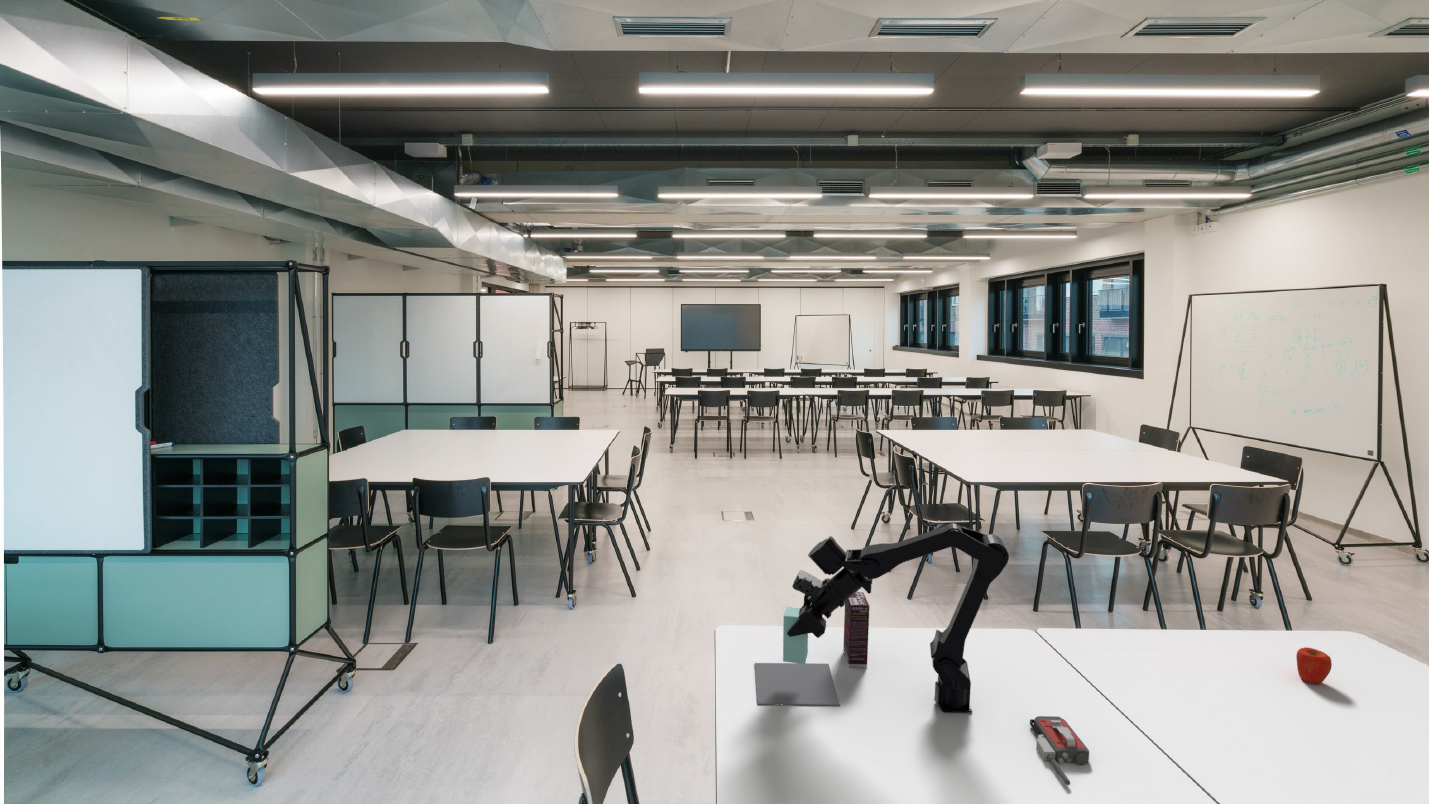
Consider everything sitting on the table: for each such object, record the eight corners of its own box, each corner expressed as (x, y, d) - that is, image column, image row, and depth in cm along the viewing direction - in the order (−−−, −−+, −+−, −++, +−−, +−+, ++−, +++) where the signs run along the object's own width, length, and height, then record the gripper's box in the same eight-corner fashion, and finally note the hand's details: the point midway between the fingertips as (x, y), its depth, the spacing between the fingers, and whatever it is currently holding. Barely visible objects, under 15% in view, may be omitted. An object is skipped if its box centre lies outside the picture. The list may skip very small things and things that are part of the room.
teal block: (807, 653, 168) (808, 608, 166) (804, 664, 163) (805, 618, 161) (786, 651, 169) (786, 606, 167) (783, 661, 164) (783, 615, 162)
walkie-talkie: (1019, 726, 151) (1061, 790, 131) (1020, 706, 150) (1063, 768, 130) (1061, 727, 150) (1110, 791, 131) (1063, 707, 150) (1112, 769, 130)
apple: (1334, 684, 166) (1338, 654, 165) (1318, 690, 164) (1322, 659, 163) (1304, 672, 172) (1307, 642, 171) (1287, 676, 170) (1291, 647, 169)
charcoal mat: (828, 664, 175) (828, 663, 175) (839, 705, 158) (839, 704, 157) (754, 664, 176) (754, 662, 176) (757, 704, 158) (757, 703, 158)
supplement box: (868, 668, 174) (870, 605, 172) (848, 667, 174) (850, 605, 172) (861, 650, 182) (863, 591, 180) (842, 650, 182) (844, 591, 180)
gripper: (818, 548, 171) (772, 588, 175) (809, 577, 153) (758, 620, 157) (851, 583, 170) (804, 622, 174) (846, 616, 152) (793, 659, 156)
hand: (790, 629), depth 165 cm, fingers closed on teal block, 5 cm apart
